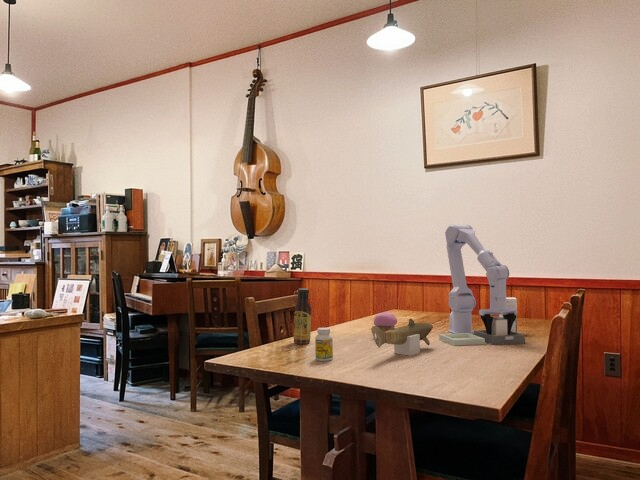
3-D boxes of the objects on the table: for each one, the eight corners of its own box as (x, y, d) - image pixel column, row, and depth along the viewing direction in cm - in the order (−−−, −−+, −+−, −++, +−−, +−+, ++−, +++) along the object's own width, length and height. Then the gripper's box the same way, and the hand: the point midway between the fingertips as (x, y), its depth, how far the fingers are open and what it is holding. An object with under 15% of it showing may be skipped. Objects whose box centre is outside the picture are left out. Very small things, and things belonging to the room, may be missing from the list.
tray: (439, 339, 185) (439, 334, 185) (468, 338, 187) (468, 333, 187) (454, 345, 173) (454, 339, 173) (484, 344, 175) (484, 338, 175)
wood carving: (360, 361, 149) (359, 324, 150) (419, 344, 175) (419, 313, 176) (384, 365, 143) (384, 327, 144) (442, 347, 169) (441, 315, 170)
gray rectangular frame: (473, 338, 187) (473, 330, 187) (504, 336, 190) (504, 329, 190) (493, 345, 174) (493, 336, 174) (525, 343, 176) (525, 335, 176)
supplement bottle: (334, 358, 154) (334, 327, 154) (330, 361, 149) (329, 330, 149) (318, 357, 155) (318, 326, 156) (313, 360, 150) (313, 329, 150)
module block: (489, 339, 184) (489, 317, 184) (500, 339, 185) (500, 316, 185) (496, 342, 179) (496, 318, 180) (507, 341, 180) (507, 318, 180)
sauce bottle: (290, 344, 177) (290, 289, 178) (297, 341, 183) (297, 287, 184) (307, 345, 175) (306, 289, 175) (313, 342, 181) (313, 288, 181)
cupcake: (400, 337, 190) (400, 311, 190) (391, 340, 183) (391, 314, 183) (379, 335, 195) (379, 310, 195) (369, 338, 187) (369, 312, 188)
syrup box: (513, 332, 201) (512, 296, 201) (517, 334, 195) (517, 298, 195) (498, 331, 202) (498, 296, 202) (502, 334, 196) (502, 298, 196)
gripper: (486, 299, 177) (486, 336, 177) (521, 298, 180) (522, 335, 180) (476, 297, 184) (476, 333, 184) (510, 296, 187) (511, 332, 187)
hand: (498, 334), depth 182 cm, fingers open, 7 cm apart
